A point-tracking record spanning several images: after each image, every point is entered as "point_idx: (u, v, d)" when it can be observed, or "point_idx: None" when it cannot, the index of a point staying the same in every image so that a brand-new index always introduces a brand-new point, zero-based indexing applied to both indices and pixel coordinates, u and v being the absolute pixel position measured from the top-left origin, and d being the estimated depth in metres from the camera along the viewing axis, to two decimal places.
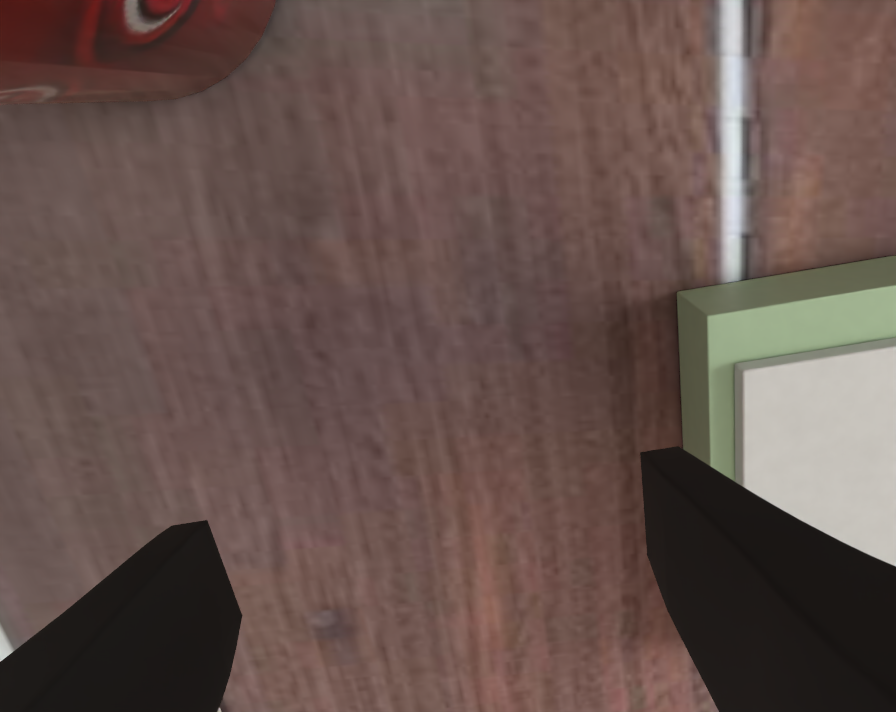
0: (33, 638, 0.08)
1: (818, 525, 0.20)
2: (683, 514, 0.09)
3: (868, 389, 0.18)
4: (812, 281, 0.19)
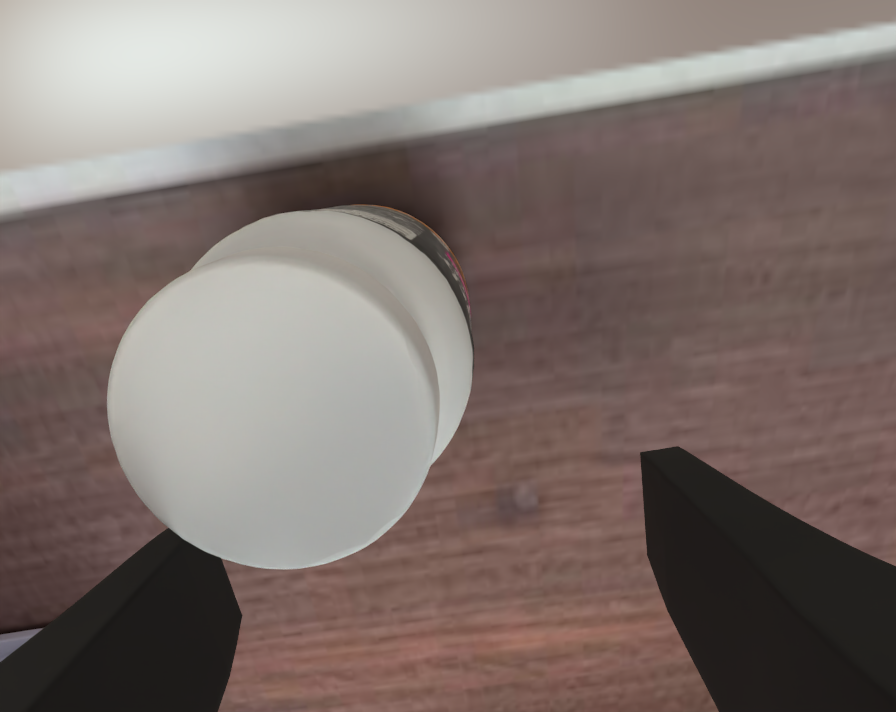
0: (33, 637, 0.08)
1: None
2: (683, 514, 0.09)
3: None
4: None
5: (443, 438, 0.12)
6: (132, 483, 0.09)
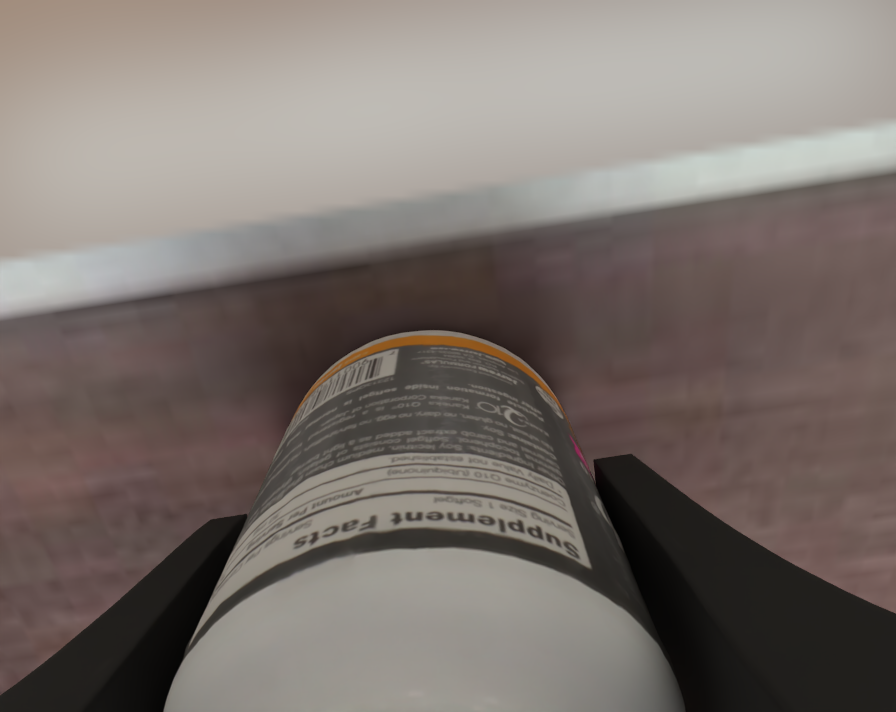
0: (85, 629, 0.08)
1: None
2: (627, 523, 0.09)
3: None
4: None
5: None
6: None
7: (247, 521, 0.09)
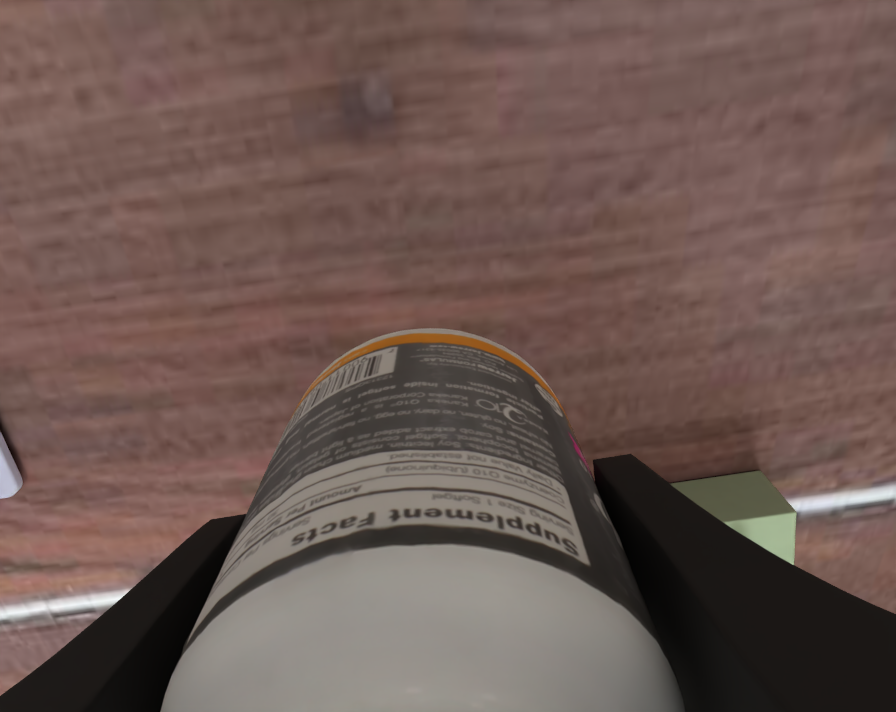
0: (85, 629, 0.08)
1: None
2: (626, 523, 0.09)
3: None
4: None
5: None
6: None
7: (246, 518, 0.09)
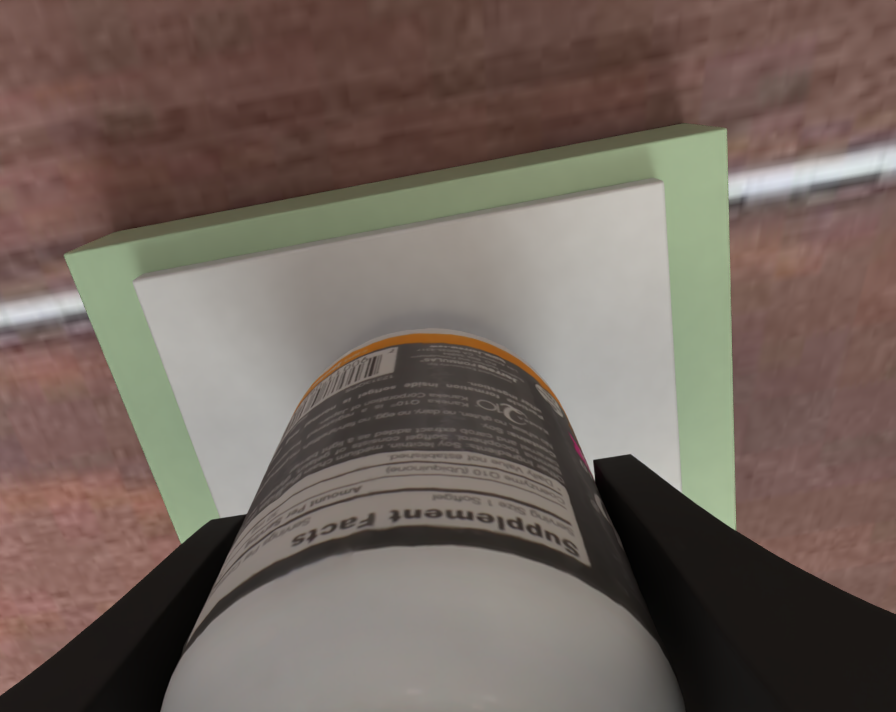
0: (86, 629, 0.08)
1: None
2: (626, 523, 0.09)
3: (620, 349, 0.14)
4: None
5: None
6: None
7: (246, 519, 0.09)
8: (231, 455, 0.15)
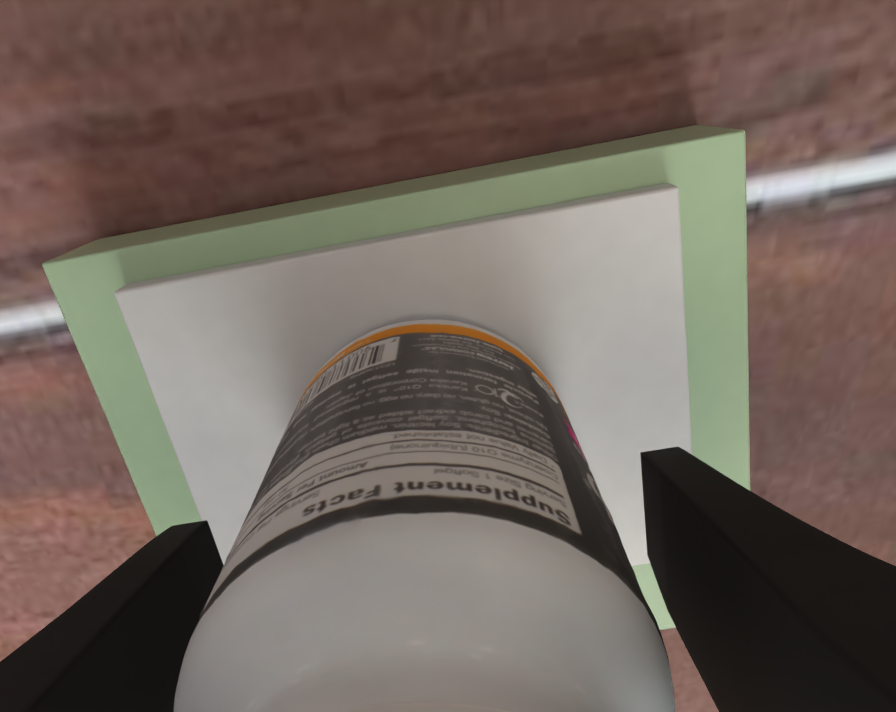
0: (33, 638, 0.08)
1: None
2: (683, 513, 0.09)
3: (631, 363, 0.13)
4: None
5: None
6: None
7: (256, 497, 0.09)
8: (220, 475, 0.14)
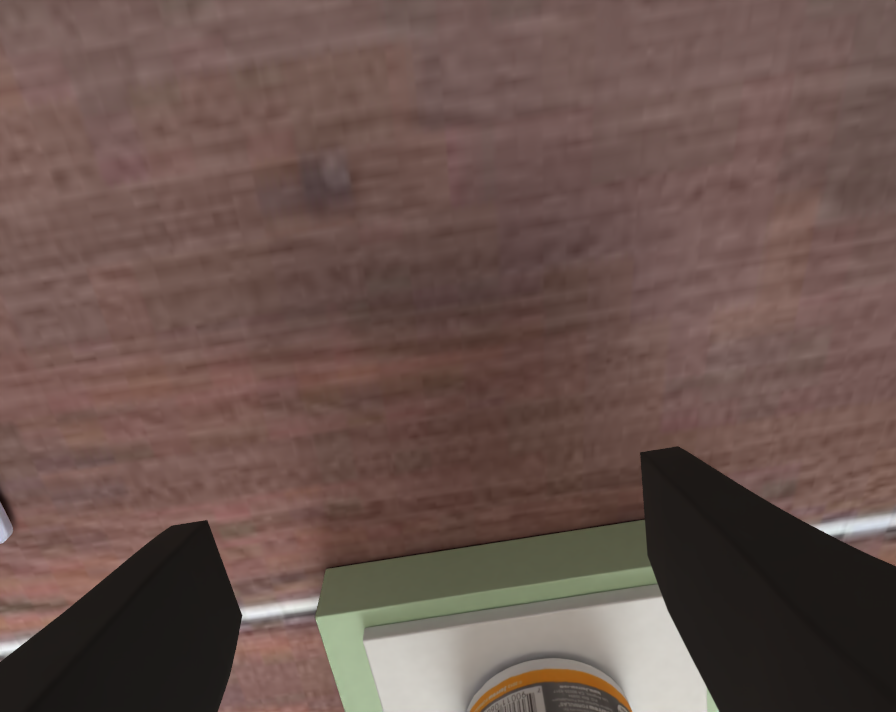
0: (33, 638, 0.08)
1: None
2: (683, 514, 0.09)
3: (671, 675, 0.22)
4: None
5: None
6: None
7: None
8: None
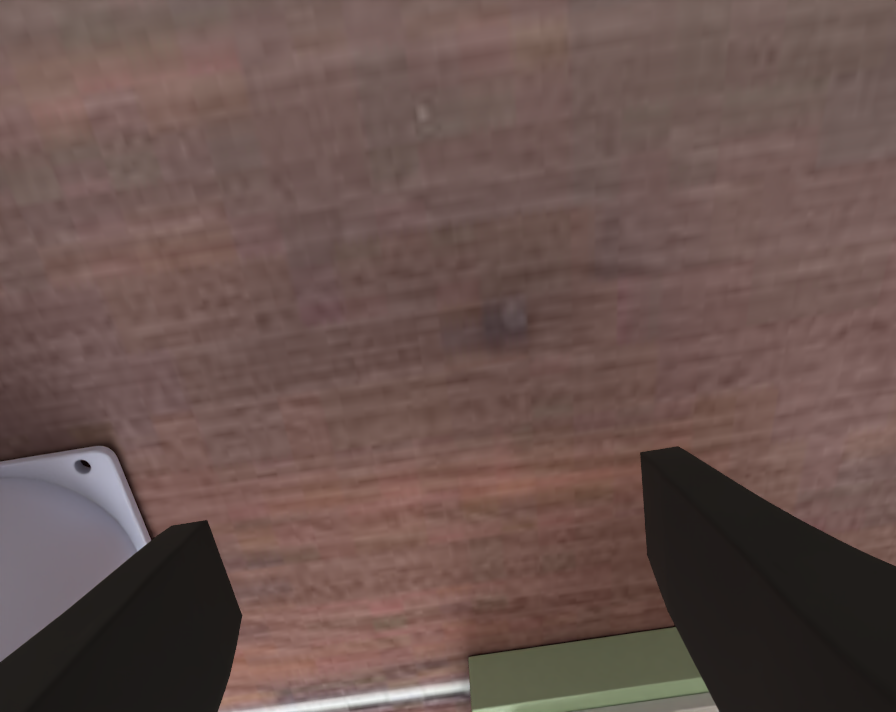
0: (33, 638, 0.08)
1: None
2: (683, 514, 0.09)
3: None
4: None
5: None
6: None
7: None
8: None
